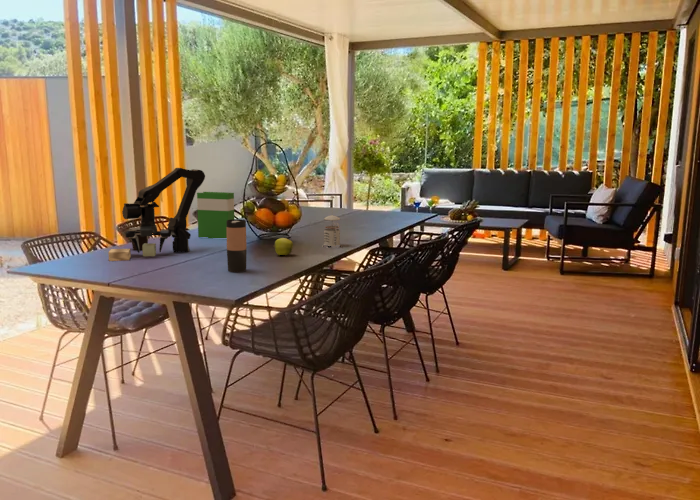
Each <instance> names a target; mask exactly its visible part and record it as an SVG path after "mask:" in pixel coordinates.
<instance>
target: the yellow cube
mask: <svg viewBox="0 0 700 500" xmlns="http://www.w3.org/2000/svg"><path fill="white" fill-rule="evenodd" d="M142 249H143V250H142V257H155V256H156V255H157V242H155V243H154V242H153V243H149V242H148V243H147V244H143V245H142Z"/></svg>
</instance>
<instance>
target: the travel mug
mask: <svg viewBox="0 0 700 500" xmlns="http://www.w3.org/2000/svg"><path fill="white" fill-rule="evenodd" d="M226 224H227V239H226V259H227V260H226V261H227V271H228V272H230V273H243V272H246V271H247V249H248V247H247V220H246V219H238V218H237V219H235V218H234V219H232V220H227V221H226Z"/></svg>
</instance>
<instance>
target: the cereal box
mask: <svg viewBox="0 0 700 500" xmlns="http://www.w3.org/2000/svg"><path fill="white" fill-rule="evenodd" d="M196 204H197V207H196V208H197V233H198V235H197V236H198V237H208V238H207V239H213V238H227V224H226V221H227V220H232V219H235V192H222V191H221V192H219V191H203V192H196Z"/></svg>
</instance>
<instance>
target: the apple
mask: <svg viewBox="0 0 700 500" xmlns="http://www.w3.org/2000/svg"><path fill="white" fill-rule="evenodd" d="M273 247H274V250H275V253H276V254H277V255H278V256H280V255H285V256H289V255H290V254H291V253H292V251H293V247H294V243H293V241H292V240H290V239H288V238H286V237H285V238H284V237H280V238H278V239H276V240H275V241H274V245H273Z"/></svg>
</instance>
